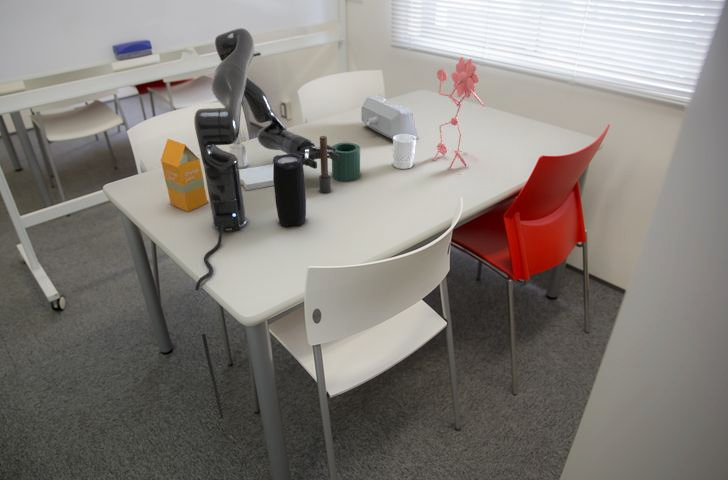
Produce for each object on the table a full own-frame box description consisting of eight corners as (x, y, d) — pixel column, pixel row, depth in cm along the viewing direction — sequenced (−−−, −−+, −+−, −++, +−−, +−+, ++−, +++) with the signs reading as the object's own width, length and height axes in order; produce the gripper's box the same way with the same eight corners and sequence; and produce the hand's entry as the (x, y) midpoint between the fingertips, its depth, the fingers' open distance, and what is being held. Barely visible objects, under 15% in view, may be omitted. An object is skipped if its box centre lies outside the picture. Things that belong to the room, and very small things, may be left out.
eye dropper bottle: (237, 169, 180) (233, 136, 173) (230, 164, 184) (226, 132, 177) (248, 166, 182) (244, 133, 176) (241, 161, 186) (237, 129, 179)
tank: (351, 128, 213) (351, 98, 206) (383, 122, 220) (384, 92, 213) (385, 147, 195) (386, 114, 188) (418, 139, 202) (420, 107, 195)
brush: (331, 193, 163) (329, 138, 153) (320, 193, 163) (317, 139, 153) (330, 188, 166) (328, 134, 156) (319, 188, 166) (316, 135, 156)
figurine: (462, 178, 170) (476, 69, 150) (419, 153, 189) (426, 53, 170) (498, 169, 175) (516, 63, 156) (453, 145, 195) (464, 48, 175)
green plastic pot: (361, 180, 170) (361, 152, 165) (333, 182, 170) (332, 153, 164) (357, 169, 178) (358, 141, 173) (331, 170, 178) (330, 143, 172)
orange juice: (190, 195, 164) (178, 134, 153) (207, 202, 159) (196, 140, 148) (170, 204, 159) (156, 142, 148) (187, 212, 154) (174, 149, 143)
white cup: (388, 167, 179) (389, 140, 173) (396, 159, 185) (398, 132, 179) (409, 171, 176) (411, 143, 170) (417, 163, 182) (419, 136, 176)
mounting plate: (281, 167, 181) (280, 162, 179) (291, 182, 170) (291, 176, 169) (230, 176, 175) (230, 171, 174) (239, 191, 165) (238, 186, 164)
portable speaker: (302, 212, 153) (298, 149, 142) (310, 226, 145) (307, 162, 134) (274, 216, 151) (268, 153, 140) (281, 231, 143) (275, 166, 132)
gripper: (279, 141, 162) (307, 156, 152) (315, 131, 170) (345, 144, 159) (280, 163, 167) (309, 179, 156) (316, 153, 174) (345, 167, 163)
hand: (327, 162), depth 157 cm, fingers open, 8 cm apart
